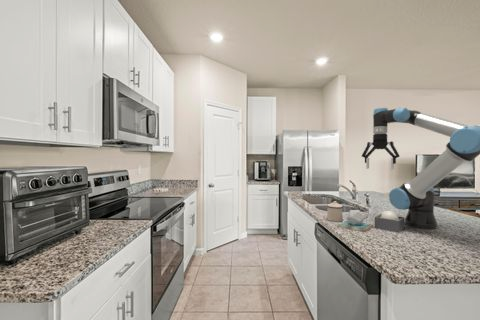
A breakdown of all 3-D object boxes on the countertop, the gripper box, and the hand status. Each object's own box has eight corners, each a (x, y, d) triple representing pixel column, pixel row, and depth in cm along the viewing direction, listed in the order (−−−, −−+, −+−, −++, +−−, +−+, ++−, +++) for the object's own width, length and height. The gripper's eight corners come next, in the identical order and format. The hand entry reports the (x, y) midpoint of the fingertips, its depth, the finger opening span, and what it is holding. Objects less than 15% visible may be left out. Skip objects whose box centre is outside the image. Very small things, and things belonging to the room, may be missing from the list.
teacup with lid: (345, 221, 152) (346, 202, 151) (331, 222, 150) (332, 202, 150) (335, 216, 163) (335, 199, 163) (321, 217, 162) (322, 199, 162)
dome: (401, 226, 139) (401, 210, 139) (396, 229, 132) (397, 213, 132) (382, 223, 145) (382, 208, 145) (377, 226, 139) (377, 210, 139)
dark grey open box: (404, 228, 139) (404, 217, 139) (398, 232, 131) (399, 221, 131) (381, 224, 147) (381, 213, 147) (374, 228, 139) (374, 217, 139)
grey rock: (363, 228, 135) (369, 213, 138) (348, 220, 136) (355, 204, 139) (356, 229, 142) (362, 215, 145) (342, 221, 144) (348, 207, 147)
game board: (373, 226, 141) (373, 224, 141) (364, 232, 131) (364, 229, 131) (347, 222, 151) (347, 219, 151) (337, 226, 141) (337, 224, 141)
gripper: (356, 134, 159) (356, 168, 160) (402, 132, 142) (402, 170, 142) (360, 135, 165) (360, 167, 165) (405, 133, 147) (405, 169, 148)
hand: (379, 169), depth 154 cm, fingers open, 13 cm apart
